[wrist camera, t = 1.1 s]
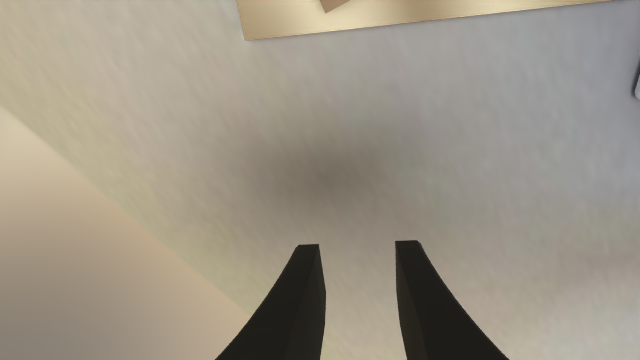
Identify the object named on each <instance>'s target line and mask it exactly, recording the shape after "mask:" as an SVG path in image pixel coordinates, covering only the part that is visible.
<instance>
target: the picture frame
mask: <svg viewBox="0 0 640 360" xmlns="http://www.w3.org/2000/svg"><path fill="white" fill-rule="evenodd" d="M348 1H350V0H320V3H321V5H322V7H323V9H324V11H325V14H326V13H328V12H329V11H331V10H333V9H335V8H337V7H339V6H341V5H343V4H344V3H346V2H348Z"/></svg>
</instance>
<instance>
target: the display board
mask: <svg viewBox="0 0 640 360" xmlns="http://www.w3.org/2000/svg"><path fill="white" fill-rule="evenodd" d="M601 1H610V0H350V1H348V2H346V3H344V4H343V5H341V6H339V7H337V8H335V9H333V10H331V11H329V12H328V13H326V14H325V11H324V9H323V7H322V5H321V3H320V0H237V5H238V10H239V14H240V19H241V24H242V29H243V34H244V39H245V41H246V40H255V39H264V38H273V37H282V36H291V35H301V34H310V33H319V32H328V31H337V30H346V29H355V28H364V27H373V26H382V25H392V24H401V23H410V22H419V21H428V20H437V19H446V18H455V17H464V16H474V15H483V14H492V13H501V12H510V11H519V10H528V9H537V8H546V7H556V6H565V5H574V4H583V3H592V2H601Z"/></svg>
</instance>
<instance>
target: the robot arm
mask: <svg viewBox="0 0 640 360" xmlns="http://www.w3.org/2000/svg"><path fill="white" fill-rule="evenodd" d="M635 96H636V98H638V99H640V76H639V79H638V82H637V86H636V89H635ZM395 247H396V291H397V301H398V311H399V320H400V327H401V332H402V337H403V342H404V346H405V351H406V356H407V360H509V359H508V358H507V357H506V356H505V355H504V354H503V353H502V352H501V351H500V350H499V349H498V348H497V347H496V346H495V345H494V344H493V342H492V341H491V340H490V339H489V338H488V337H487V336H486V335H485V334H484V333H483V332H482V330H481V329H480V328H479V327H478V326H477V325H476V323H475V322H474V321H473V320H472V319H471V317H470V316H469V315H468V314H467V313H466V311H465V310H464V309H463V308H462V306H461V305H460V304H459V303H458V301H457V300H456V299H455V297H454V296H453V295H452V293H451V292H450V290H449V289H448V288H447V286H446V285H445V283H444V282H443V281H442V279H441V278H440V276H439V275H438V273H437V272H436V270H435V268H434V267H433V265H432V264H431V262H430V260H429V259H428V257H427V255H426V253H425V252H424V250H423V248H422V246H421V244H420V243H419V242H418V241H417V240H409V241H395ZM325 310H326V289H325V283H324V276H323V269H322V263H321V256H320V250H319V244H309V245H298V246H297V247H296V248H295V250H294V252H293V254H292V256H291V258H290V260H289V261H288V263H287V265H286V266H285V268H284V270H283V271H282V273H281V275H280V276H279V278H278V280H277V281H276V283H275V284H274V286H273V287H272V289H271V290H270V292H269V293H268V295H267V296H266V298H265V299H264V301H263V302H262V303H261V305H260V306H259V307H258V309H257V310H256V311H255V313H254V314H253V316H252V317H251V318H250V320H249V321H248V322H247V323H246V325H245V326H244V327H243V328H242V330H241V331H240V332H239V334H238V335H237V336H236V337H235V338H234V339H233V341H232V342H231V343H230V344H229V345H228V346H227V347H226V348H225V349H224V351H223V352H222V353H221V354H220V355H219V356H218V357H217V358H216V359H215V360H320V355H321V348H322V341H323V334H324V327H325Z"/></svg>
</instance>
